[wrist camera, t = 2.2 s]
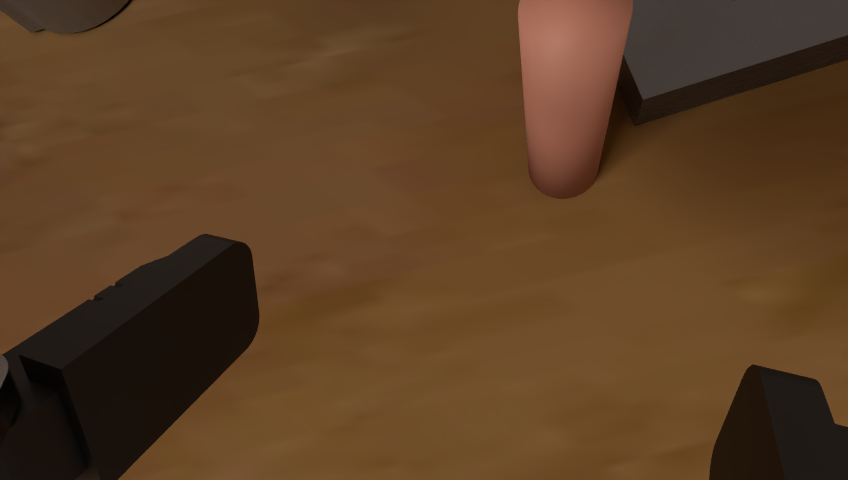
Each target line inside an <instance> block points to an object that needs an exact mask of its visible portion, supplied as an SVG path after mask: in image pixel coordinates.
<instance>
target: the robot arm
mask: <svg viewBox="0 0 848 480" xmlns="http://www.w3.org/2000/svg"><path fill="white" fill-rule="evenodd" d="M128 1H129V0H0V10H1V11H2V12H3V13H5V14H6V15H8V16H9V17H10V18H12V19H13V20H14V21H16V22H17V23H18V24H20V25H21V26H22V27H24V28H25V29H27V30H28V31H29V32H31V33H32V32H35V31H38V30H42V29H46V30H50V31H53V32H57V33H75V32H81V31H85V30H87V29H90V28H93V27H95V26H97V25H99V24H101V23H103V22H104V21H106V20H108V19H109V18H110V17H112V16H113V15H114V14H116V13H117V12H118V11H119V10H120V9H121V8H122V7H123V6H124V5H125V4H126V3H127V2H128ZM258 325H259V308H258V300H257V291H256V283H255V275H254V267H253V259H252V253H251V250H250V248H249V247H248V246H247V245H246V244H245V243H243V242H239V241H234V240H230V239H226V238H222V237H217V236H213V235H209V234H203V235H200V236H198V237H196V238H194V239H193V240H191V241H190V242H188V243H187V244H185V245H184V246H182V247H181V248H179V249H178V250H176V251H175V252H173V253H172V254H170V255H169V256H166V257H164V258H161V259H158V260H155V261H153V262H150V263H147V264H145V265H142V266H140V267H138V268H137V269H135V270H134V271H132V272H131V273H129V274H128V275H126V276H124V277H123V278H121V279H120V280H118V281H117V282H116V284H115V286H109V287H107V288H106V289H104V290H103V291H101V292H100V293H98V294H96V295H95V296H94V299H93V300H87V301H86V302H84V303H82V304H81V305H79V306H78V307H76V308H75V309H73V310H72V311H70V312H68V313H67V314H65V315H64V316H62V317H61V318H59V319H57V320H56V321H54V322H53V323H51V324H50V325H48V326H47V327H45V328H43V329H42V330H40V331H39V332H37V333H36V334H34V335H33V336H31V337H29V338H28V339H26V340H25V341H23V342H22V343H20V344H19V345H17V346H15V347H14V348H12V349H11V350H9V351H8V352H6V353H4V354H3V355H1V354H0V480H118V479H119V478H120V477H121V476H122V475H123V474H124V473H125V472H126V471H127V470H128V468H129V467H130V466H131V465H132V464H133V463H134V462H135V461H136V460H137V459H138V458H139V457H140V456H141V455H142V454H143V453H144V452H145V451H146V450H147V449H148V448H149V447H150V446H151V445H152V444H153V443H154V442H155V441H156V440H157V439H158V438H159V437H160V436H161V435H162V434H163V433H164V432H165V431H166V430H167V429H168V428H169V427H170V426H171V425H172V424H173V423H174V422H175V421H176V420H177V419H178V418H179V417H180V416H181V415H182V414H183V413H184V412H185V411H186V410H187V409H188V408H189V407H190V406H191V405H192V404H193V403H194V402H195V401H196V400H197V399H198V398H199V397H200V396H201V395H202V394H203V393H204V392H205V391H206V390H207V389H208V388H209V387H210V386H211V385H212V384H213V383H214V382H215V381H216V380H217V379H218V378H219V377H220V375H221V374H222V373H223V372H224V371H225V370H226V369H227V368H228V367H229V366H230V365H231V364H232V363H233V362H234V361H235V360H236V359H237V358H238V357H239V356H240V355H241V354H242V353H243V352H244V351H245V350H246V349H247V348H248V347H249V345H250V344H251V343H252V341H253V339H254V337H255V335H256V332H257V329H258ZM709 480H848V427H845V426H841V425H837V424H835V423H834V420H833V417H832V415H831V412H830V409H829V406H828V404H827V401H826V398H825V395H824V393H823V390H822V387H821V385H820V384H819V382H818V381H817V380H815V379H812V378H808V377H804V376H799V375H795V374H791V373H787V372H783V371H778V370H774V369H770V368H766V367H761V366H757V365H751V366H750V367H749V368H748V369H747V370H746V372H745V374H744V376H743V378H742V380H741V383H740V385H739V387H738V390H737V392H736V395H735V397H734V399H733V402H732V404H731V407H730V409H729V411H728V414H727V416H726V419H725V421H724V423H723V426H722V428H721V431H720V433H719V435H718V438H717V440H716V443H715V446H714V449H713V454H712V459H711V465H710V476H709Z"/></svg>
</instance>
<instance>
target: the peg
mask: <svg viewBox="0 0 848 480" xmlns="http://www.w3.org/2000/svg"><path fill="white" fill-rule="evenodd" d="M632 10H633V0H520V2H519V7H518V22H519V36H520V50H521V65H522V79H523V93H524V108H525V122H526V136H527V150H528V165H529V174H530V178H531V180H532V182H533V184H534V185H535V186H536V188H537V189H538V190H540V191H541V192H542V193H544V194H546V195H548V196H550V197H554V198H559V199H566V198H572V197H575V196H578V195H580V194H582V193H584V192H585V191H586V190H587V189H589V188H590V187H591V185H592V184H593V183H594V181H595V179H596V176H597V173H598V169H599V164H600V159H601V155H602V150H603V145H604V141H605V136H606V132H607V127H608V122H609V118H610V113H611V108H612V104H613V99H614V95H615V90H616V85H617V81H618V76H619V71H620V67H621V62H622V58H623V53H624V48H625V44H626V39H627V34H628V30H629V25H630V21H631V16H632Z"/></svg>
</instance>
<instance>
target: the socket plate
mask: <svg viewBox="0 0 848 480" xmlns="http://www.w3.org/2000/svg"><path fill="white" fill-rule="evenodd" d="M847 59H848V0H633V10H632V16H631V21H630V25H629V30H628V34H627V39H626V44H625V48H624V53H623V58H622V62H621V67H620V71H619V76H618V81H617V84H618V86H619V89H620V91H621V94H622V96H623V98H624V101H625V103H626V105H627V108H628V110H629V113H630V115H631V117H632V120H633V122H634V124H635V125H638V124H641V123H645V122H648V121H651V120H654V119H658V118H661V117H664V116H667V115H670V114H674V113H677V112H680V111H683V110H686V109H690V108H693V107H696V106H699V105H703V104H706V103H709V102H712V101H715V100H719V99H722V98H725V97H728V96H731V95H735V94H738V93H741V92H744V91H748V90H751V89H754V88H757V87H760V86H764V85H767V84H770V83H773V82H776V81H780V80H783V79H786V78H789V77H793V76H796V75H799V74H802V73H805V72H809V71H812V70H815V69H818V68H821V67H825V66H828V65H831V64H834V63H838V62H841V61H844V60H847Z"/></svg>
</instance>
